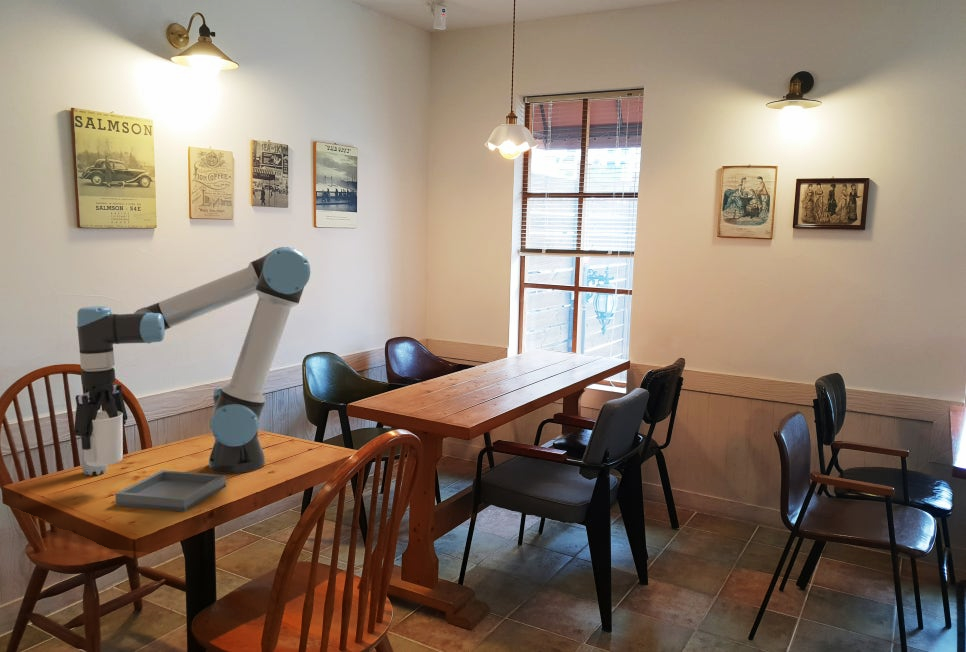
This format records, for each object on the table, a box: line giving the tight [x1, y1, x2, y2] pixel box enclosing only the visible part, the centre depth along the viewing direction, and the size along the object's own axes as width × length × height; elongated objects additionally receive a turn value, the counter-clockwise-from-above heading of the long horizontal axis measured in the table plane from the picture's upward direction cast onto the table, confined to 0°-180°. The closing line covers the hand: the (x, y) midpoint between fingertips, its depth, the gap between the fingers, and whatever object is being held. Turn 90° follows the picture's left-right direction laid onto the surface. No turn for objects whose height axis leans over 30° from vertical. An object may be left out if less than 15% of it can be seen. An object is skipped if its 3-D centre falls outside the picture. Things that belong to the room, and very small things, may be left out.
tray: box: [115, 469, 227, 513], centre depth 184 cm, size 18×18×3 cm
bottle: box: [79, 405, 108, 476], centre depth 199 cm, size 7×7×20 cm
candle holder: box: [86, 410, 124, 466], centre depth 185 cm, size 10×10×12 cm
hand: (103, 455), depth 185 cm, fingers closed on candle holder, 9 cm apart
